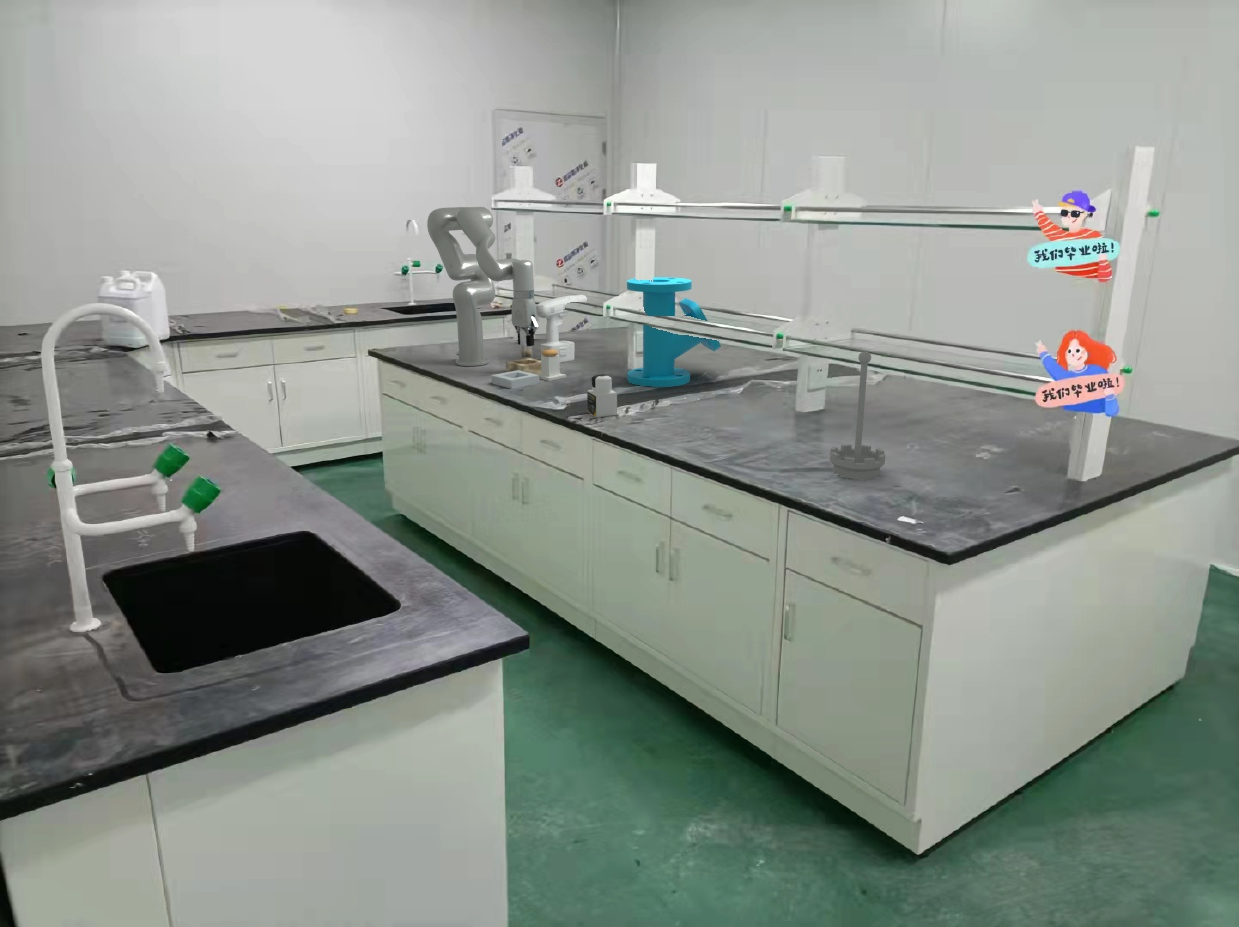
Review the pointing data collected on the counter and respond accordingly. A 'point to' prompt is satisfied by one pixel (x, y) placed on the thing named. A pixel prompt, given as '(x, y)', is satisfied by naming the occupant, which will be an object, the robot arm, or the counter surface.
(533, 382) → the socket block
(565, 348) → the power drill
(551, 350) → the release plunger
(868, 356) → the flag stand
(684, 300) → the pipe fitting
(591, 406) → the medicine bottle
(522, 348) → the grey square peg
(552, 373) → the post
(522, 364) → the rack
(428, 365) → the counter surface
